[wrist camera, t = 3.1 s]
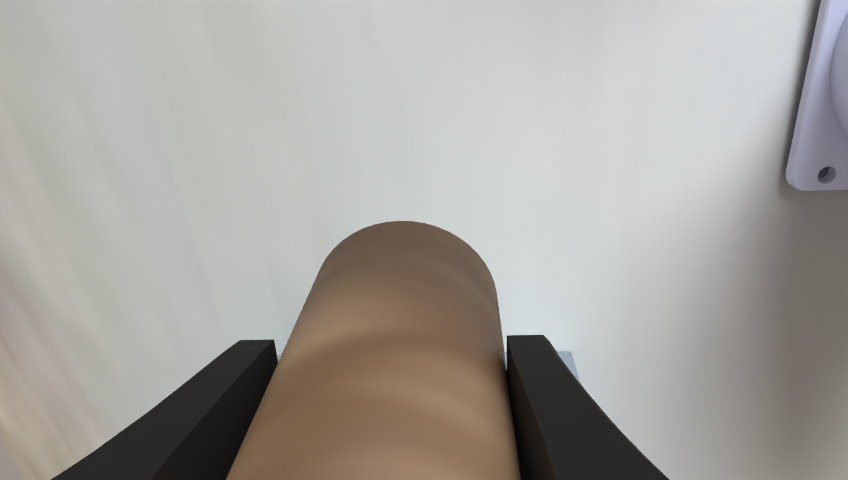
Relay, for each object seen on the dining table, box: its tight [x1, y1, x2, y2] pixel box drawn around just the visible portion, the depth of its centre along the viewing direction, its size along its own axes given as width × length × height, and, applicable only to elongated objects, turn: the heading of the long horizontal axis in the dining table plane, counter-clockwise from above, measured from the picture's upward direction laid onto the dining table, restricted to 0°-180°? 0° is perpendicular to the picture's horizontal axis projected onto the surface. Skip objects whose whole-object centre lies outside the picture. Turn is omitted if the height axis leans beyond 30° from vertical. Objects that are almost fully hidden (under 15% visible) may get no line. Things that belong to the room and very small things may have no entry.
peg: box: [226, 221, 521, 480], centre depth 9 cm, size 4×4×8 cm
